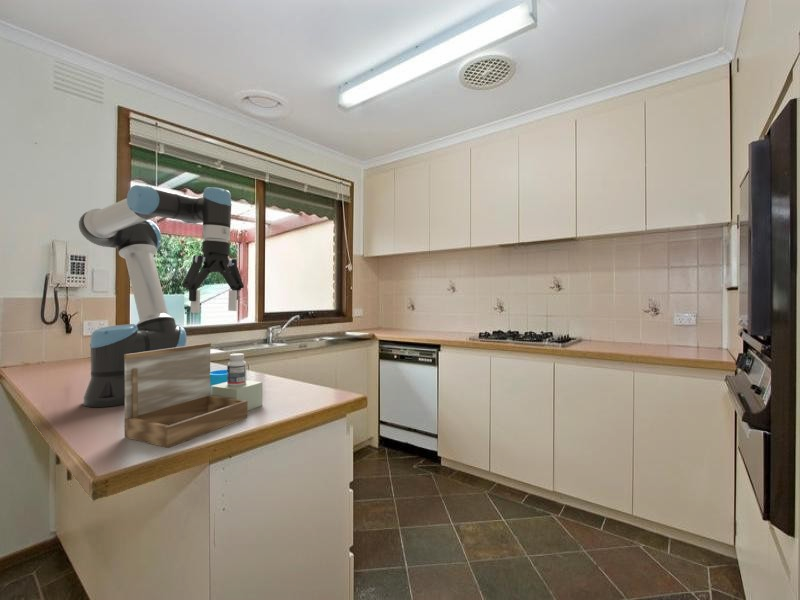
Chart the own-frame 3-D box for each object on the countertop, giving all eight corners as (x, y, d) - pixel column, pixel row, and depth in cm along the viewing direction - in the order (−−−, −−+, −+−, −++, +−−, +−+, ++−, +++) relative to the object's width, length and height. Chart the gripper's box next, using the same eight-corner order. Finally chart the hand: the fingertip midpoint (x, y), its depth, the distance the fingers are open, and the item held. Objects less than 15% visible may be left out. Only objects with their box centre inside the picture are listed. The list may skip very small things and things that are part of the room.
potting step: (210, 410, 112) (210, 386, 112) (237, 401, 121) (237, 379, 121) (236, 414, 108) (236, 389, 108) (262, 405, 117) (262, 382, 117)
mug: (213, 402, 120) (213, 375, 120) (204, 396, 126) (203, 372, 126) (250, 395, 129) (250, 370, 129) (240, 390, 135) (240, 367, 135)
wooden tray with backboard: (124, 437, 91) (124, 354, 90) (207, 410, 112) (207, 343, 112) (168, 447, 85) (167, 359, 84) (247, 417, 106) (247, 346, 106)
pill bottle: (230, 382, 117) (231, 352, 117) (248, 381, 117) (248, 352, 117) (224, 386, 112) (224, 355, 112) (243, 386, 112) (243, 355, 112)
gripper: (188, 235, 103) (186, 314, 104) (256, 245, 126) (254, 310, 127) (168, 235, 106) (167, 312, 107) (238, 245, 129) (237, 309, 130)
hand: (214, 311), depth 117 cm, fingers open, 13 cm apart
